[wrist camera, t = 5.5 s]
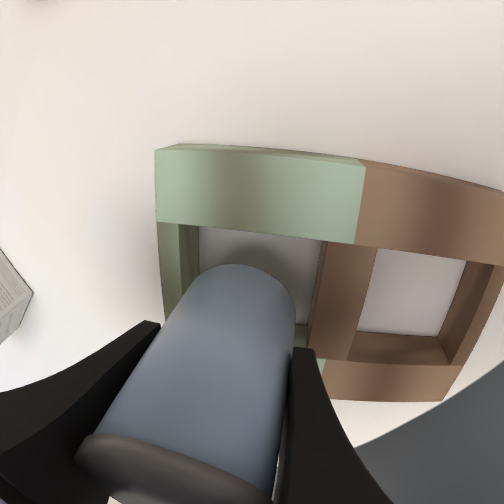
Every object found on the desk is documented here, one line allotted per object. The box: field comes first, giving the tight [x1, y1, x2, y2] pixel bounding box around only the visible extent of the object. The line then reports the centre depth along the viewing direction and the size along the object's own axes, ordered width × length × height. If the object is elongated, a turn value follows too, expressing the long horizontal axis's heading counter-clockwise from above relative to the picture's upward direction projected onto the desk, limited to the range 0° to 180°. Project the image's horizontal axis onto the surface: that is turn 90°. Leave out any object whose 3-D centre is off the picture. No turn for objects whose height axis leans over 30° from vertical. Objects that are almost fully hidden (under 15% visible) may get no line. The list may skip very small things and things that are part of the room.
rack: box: [155, 144, 504, 402], centre depth 14 cm, size 16×12×2 cm
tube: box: [74, 264, 296, 504], centre depth 9 cm, size 5×5×8 cm
